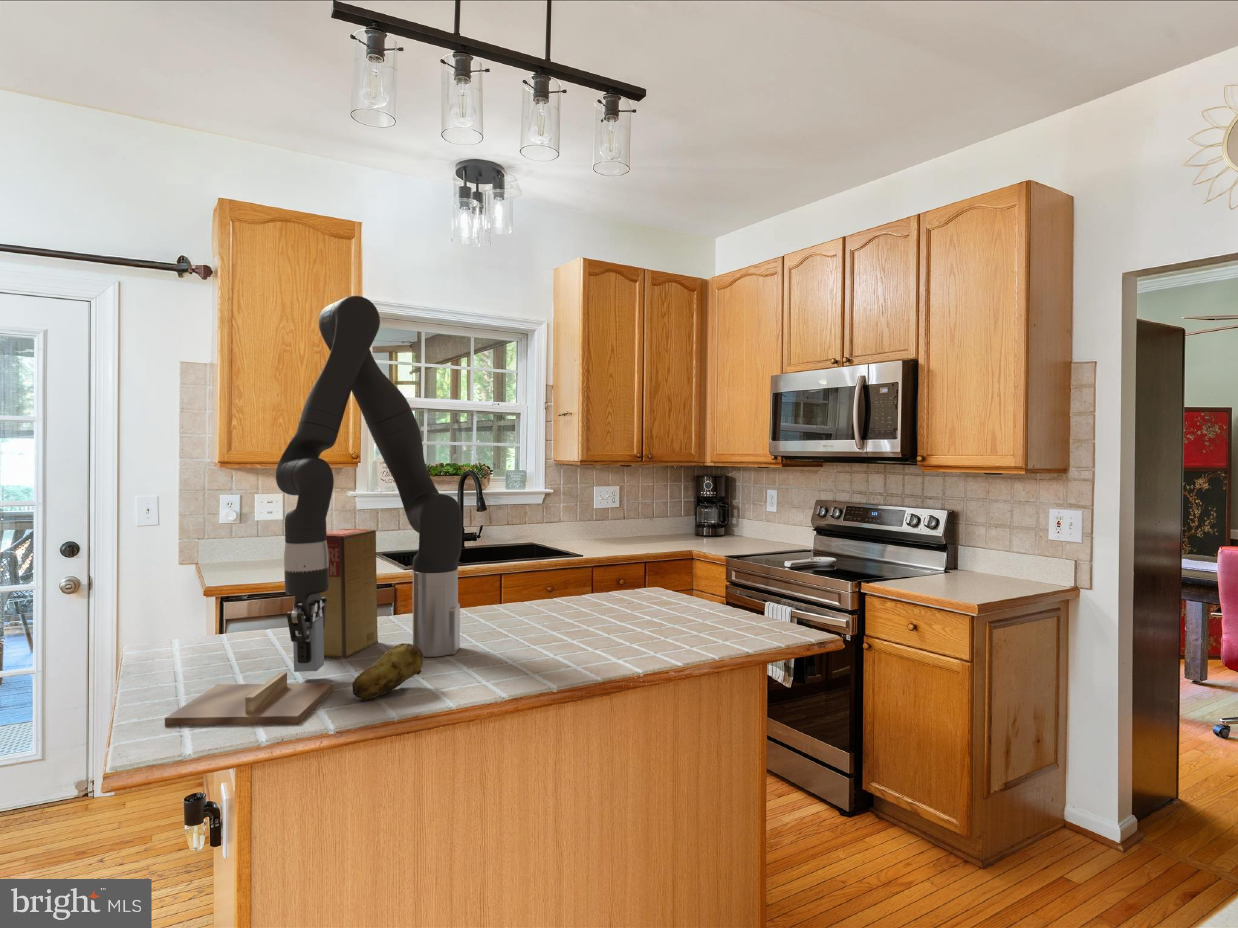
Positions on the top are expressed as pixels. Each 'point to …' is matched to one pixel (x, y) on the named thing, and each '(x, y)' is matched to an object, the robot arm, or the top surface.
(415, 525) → the robot arm
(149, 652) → the top surface
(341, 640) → the food packaging
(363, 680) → the potato
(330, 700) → the top surface
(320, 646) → the block
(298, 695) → the board
